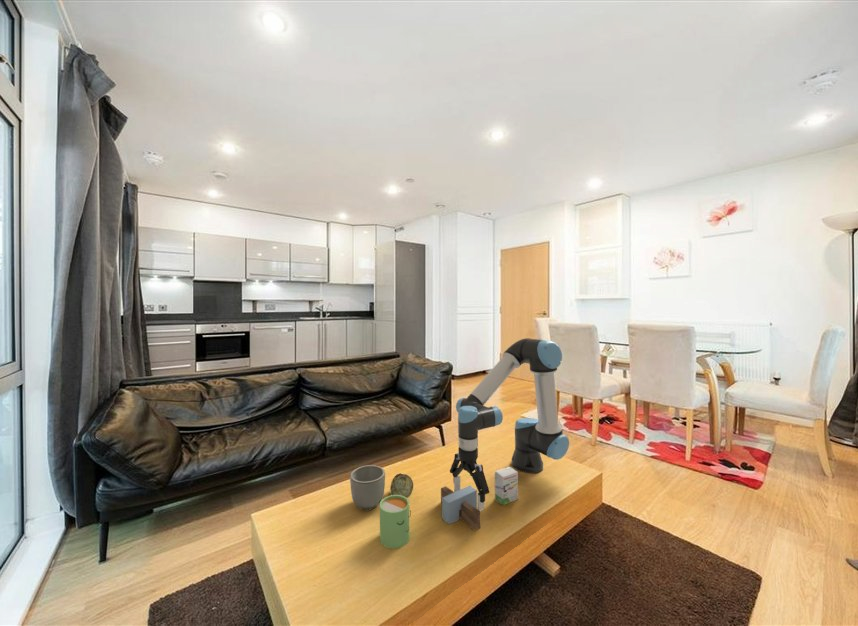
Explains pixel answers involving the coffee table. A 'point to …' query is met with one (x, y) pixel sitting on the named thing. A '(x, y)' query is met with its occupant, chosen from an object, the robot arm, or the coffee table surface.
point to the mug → (394, 521)
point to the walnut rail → (465, 511)
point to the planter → (367, 486)
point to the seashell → (401, 485)
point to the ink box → (506, 485)
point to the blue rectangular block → (457, 503)
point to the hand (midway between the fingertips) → (468, 500)
